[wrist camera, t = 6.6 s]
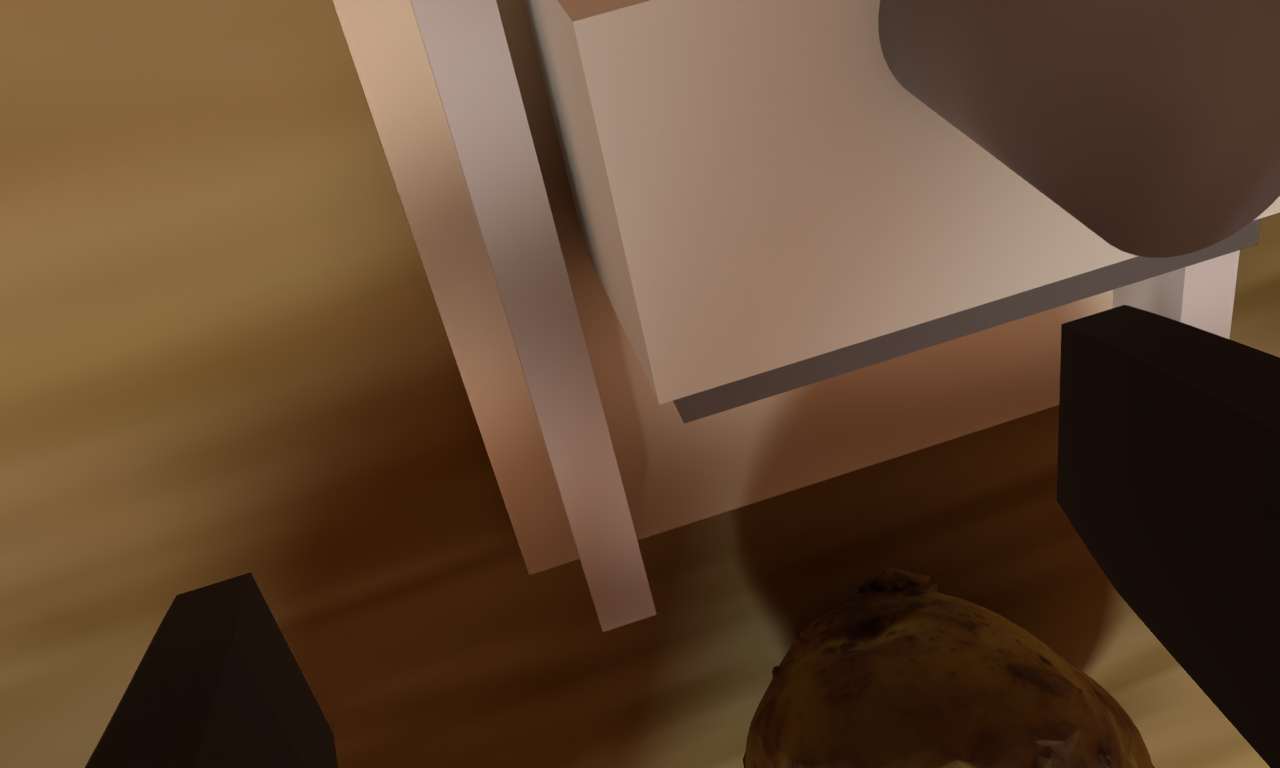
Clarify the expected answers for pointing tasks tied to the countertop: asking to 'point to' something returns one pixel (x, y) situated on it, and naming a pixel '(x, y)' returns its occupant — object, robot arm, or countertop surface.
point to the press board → (595, 340)
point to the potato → (932, 692)
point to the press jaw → (895, 167)
